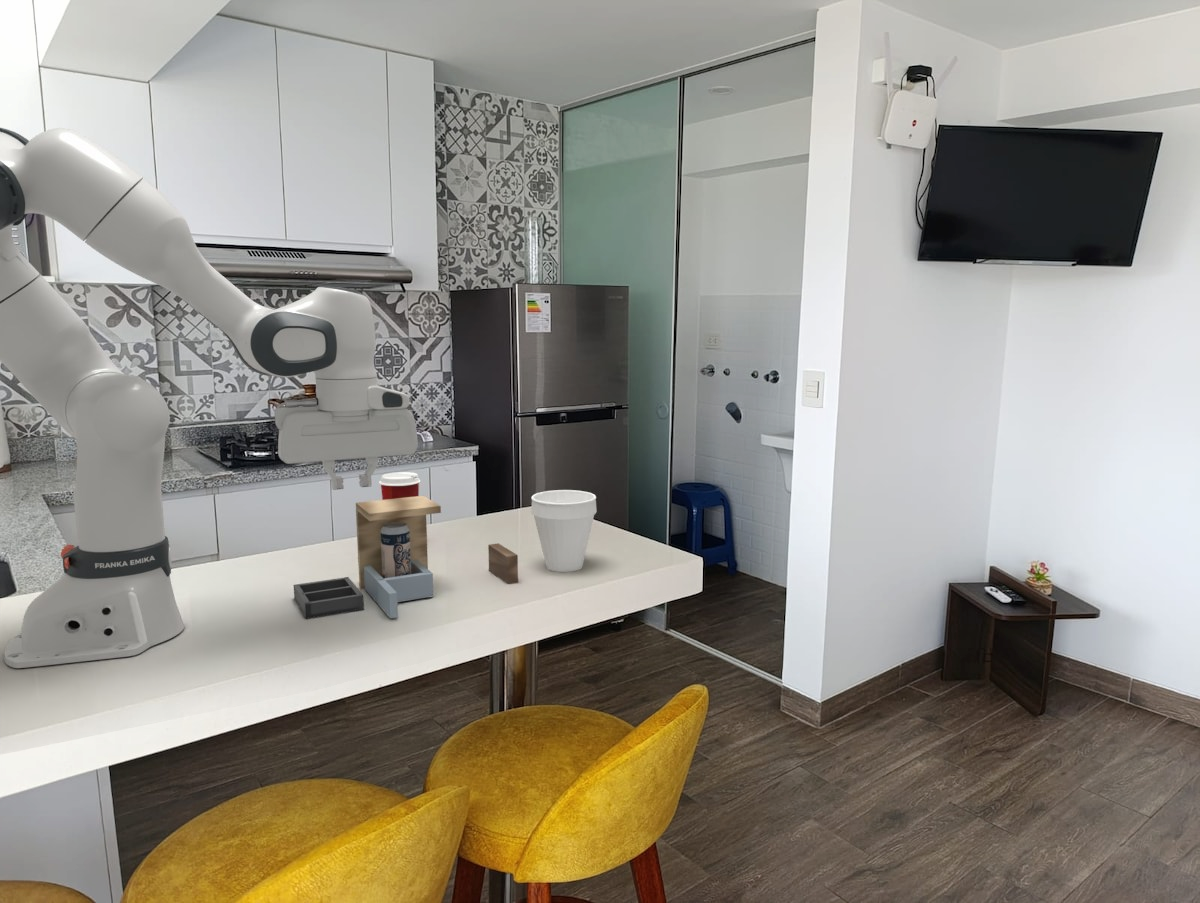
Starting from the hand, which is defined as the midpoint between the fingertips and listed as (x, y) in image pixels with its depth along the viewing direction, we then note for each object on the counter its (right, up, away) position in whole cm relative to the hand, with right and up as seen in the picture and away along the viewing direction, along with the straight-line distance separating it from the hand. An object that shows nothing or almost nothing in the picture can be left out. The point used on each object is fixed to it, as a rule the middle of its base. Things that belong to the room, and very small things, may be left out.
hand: (351, 487), depth 127 cm
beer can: (+3, -19, +16) cm, 25 cm away
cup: (+31, -17, +32) cm, 47 cm away
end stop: (+20, -17, +26) cm, 37 cm away
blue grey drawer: (+5, -19, +13) cm, 23 cm away
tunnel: (+3, -19, +18) cm, 26 cm away
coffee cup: (-3, -14, +46) cm, 48 cm away
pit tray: (-7, -20, +11) cm, 23 cm away
